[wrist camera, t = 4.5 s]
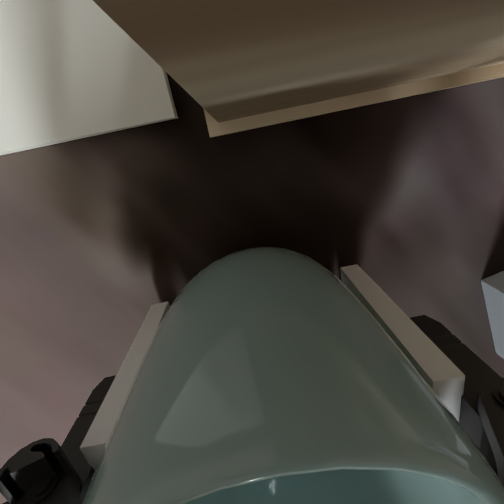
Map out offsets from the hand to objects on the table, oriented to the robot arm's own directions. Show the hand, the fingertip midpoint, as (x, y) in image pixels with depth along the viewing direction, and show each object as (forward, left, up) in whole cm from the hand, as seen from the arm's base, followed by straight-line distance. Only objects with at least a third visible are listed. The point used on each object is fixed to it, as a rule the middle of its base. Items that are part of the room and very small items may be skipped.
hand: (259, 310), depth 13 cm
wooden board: (-9, +10, -1) cm, 13 cm away
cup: (0, 0, -1) cm, 1 cm away
